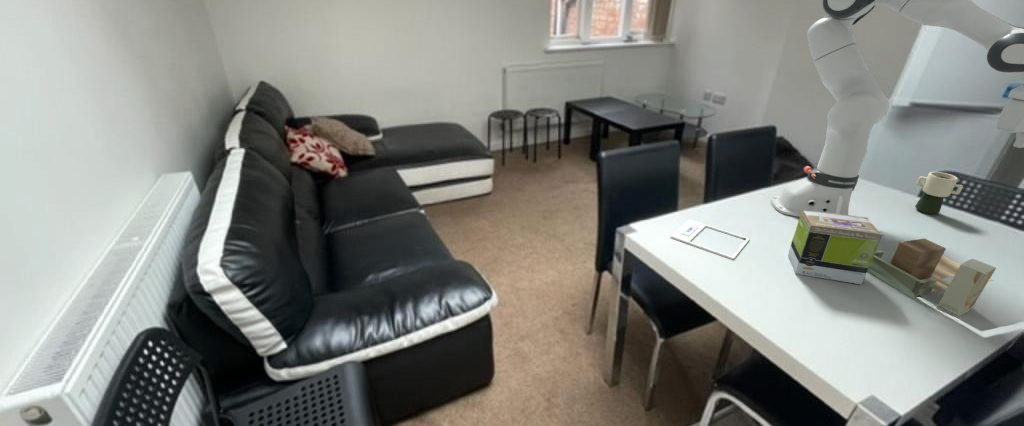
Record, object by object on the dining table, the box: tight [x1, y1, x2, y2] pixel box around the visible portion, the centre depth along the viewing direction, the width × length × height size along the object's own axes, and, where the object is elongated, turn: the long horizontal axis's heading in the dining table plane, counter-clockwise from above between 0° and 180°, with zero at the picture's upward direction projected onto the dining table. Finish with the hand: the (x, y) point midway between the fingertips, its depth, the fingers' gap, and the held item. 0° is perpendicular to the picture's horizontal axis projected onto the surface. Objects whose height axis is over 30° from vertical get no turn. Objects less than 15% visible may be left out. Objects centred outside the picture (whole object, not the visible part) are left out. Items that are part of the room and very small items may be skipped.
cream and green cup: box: [914, 171, 964, 214], centre depth 145 cm, size 11×7×13 cm, turn 43°
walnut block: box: [889, 238, 947, 280], centre depth 110 cm, size 8×5×9 cm, turn 104°
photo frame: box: [670, 219, 750, 261], centre depth 130 cm, size 15×1×18 cm
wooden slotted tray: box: [867, 249, 993, 299], centre depth 114 cm, size 26×14×4 cm, turn 104°
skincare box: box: [936, 258, 997, 319], centre depth 99 cm, size 6×4×12 cm
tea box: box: [787, 210, 883, 285], centre depth 113 cm, size 15×10×15 cm
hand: (1020, 147), depth 111 cm, fingers closed
